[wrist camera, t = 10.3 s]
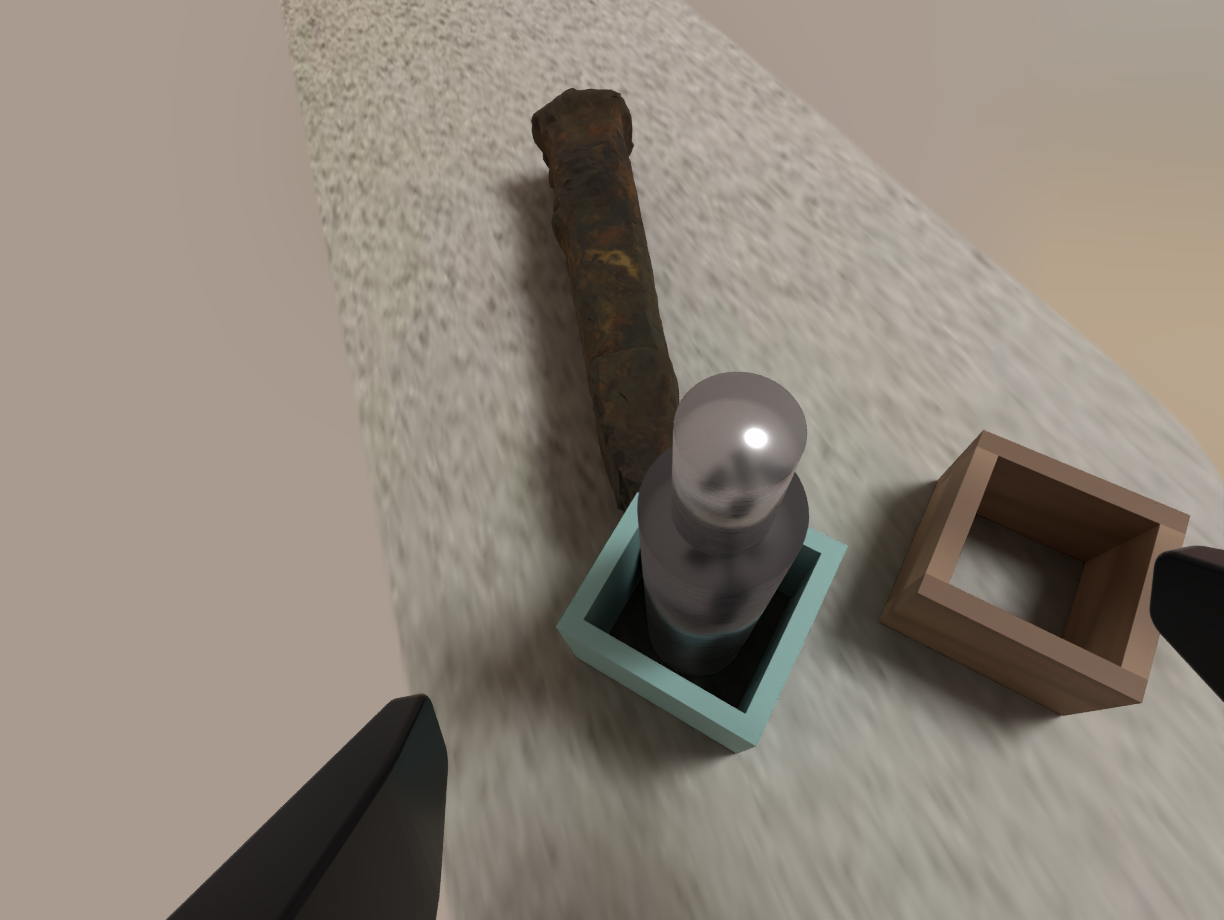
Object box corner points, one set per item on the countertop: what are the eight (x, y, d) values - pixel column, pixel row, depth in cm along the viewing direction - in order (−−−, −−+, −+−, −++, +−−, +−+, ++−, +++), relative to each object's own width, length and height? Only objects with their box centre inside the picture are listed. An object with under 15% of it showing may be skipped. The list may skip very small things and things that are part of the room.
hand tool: (542, 171, 30) (521, 71, 25) (633, 159, 30) (627, 57, 25) (576, 595, 21) (554, 550, 17) (701, 580, 21) (710, 532, 17)
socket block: (1062, 715, 19) (1141, 703, 16) (878, 621, 21) (917, 592, 17) (1110, 555, 21) (1190, 515, 18) (938, 479, 22) (983, 429, 19)
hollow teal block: (736, 753, 19) (755, 746, 15) (576, 657, 21) (555, 627, 17) (812, 591, 21) (848, 546, 17) (660, 513, 23) (660, 454, 18)
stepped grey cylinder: (749, 675, 20) (868, 530, 8) (648, 675, 20) (629, 533, 9) (741, 578, 21) (837, 334, 10) (647, 578, 22) (629, 339, 10)
